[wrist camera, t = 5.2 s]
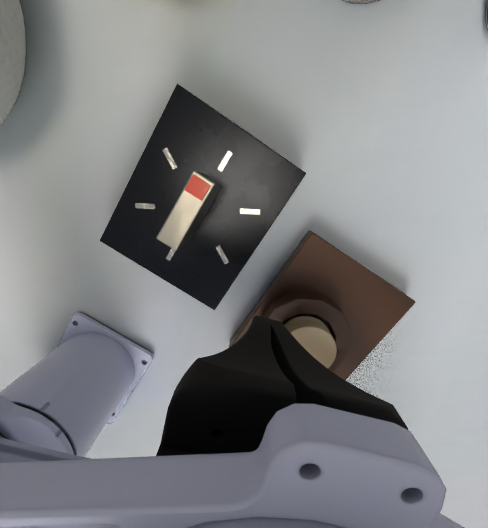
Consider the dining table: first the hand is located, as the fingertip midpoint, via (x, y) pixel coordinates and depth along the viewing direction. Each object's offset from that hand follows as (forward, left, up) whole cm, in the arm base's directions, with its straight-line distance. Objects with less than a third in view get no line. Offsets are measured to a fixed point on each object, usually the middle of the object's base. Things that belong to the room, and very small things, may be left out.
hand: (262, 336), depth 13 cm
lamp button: (-2, -5, -7) cm, 9 cm away
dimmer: (+2, +7, -10) cm, 12 cm away
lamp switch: (-1, -6, -10) cm, 12 cm away
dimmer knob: (+2, +7, -7) cm, 10 cm away
